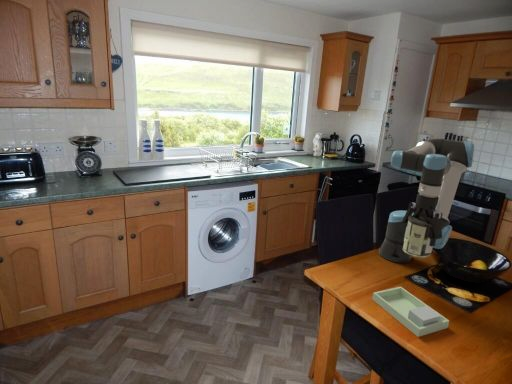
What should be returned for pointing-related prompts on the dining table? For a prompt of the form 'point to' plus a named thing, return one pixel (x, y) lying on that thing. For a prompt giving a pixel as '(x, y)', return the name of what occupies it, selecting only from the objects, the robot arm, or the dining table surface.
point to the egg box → (423, 316)
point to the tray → (406, 309)
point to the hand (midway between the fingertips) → (417, 246)
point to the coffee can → (417, 237)
